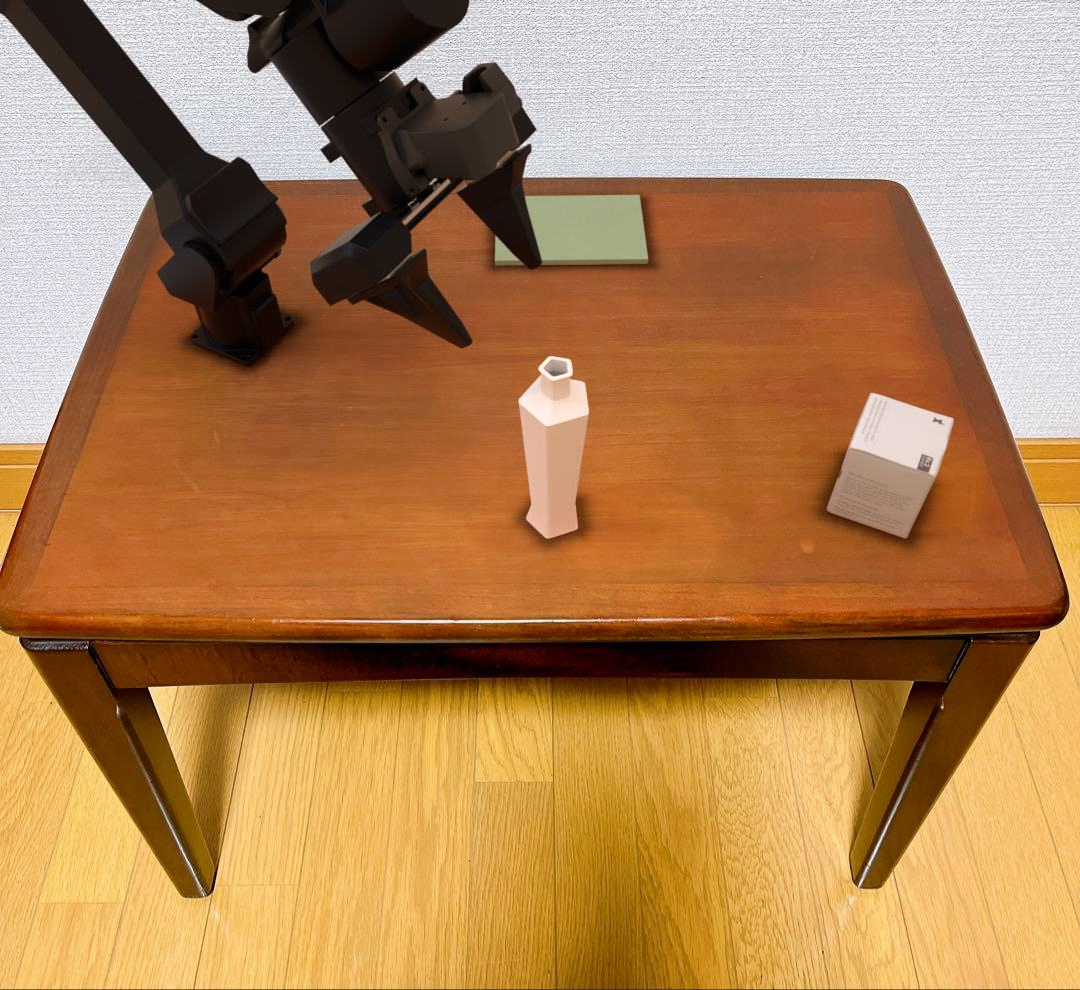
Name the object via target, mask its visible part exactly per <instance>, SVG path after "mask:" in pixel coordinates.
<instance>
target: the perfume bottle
mask: <svg viewBox="0 0 1080 990" xmlns="http://www.w3.org/2000/svg"><path fill="white" fill-rule="evenodd" d="M537 370H538V371H539V373H540V375H539V376H538V377H537V378H536V379H535V380H534V381H533V383H532V384H531V385H530V386H529V387H528V388H527V389H526V391H525V392H523V394H522V395H521V396H520V397H519V399H518V408H519V416H520V425H521V433H522V440H523V448H524V456H525V465H526V473H527V481H528V488H529V497H530V504H531V505H530V507H529V510H528V512H527V514H526V517H525V520H526V521H527V522H528V523H529V524H530V525H531V526H532V527H533V528H534V529H535V530H536V531H537V532H538V533H539V534H540V535H542V537H543V538H545V539H547V540H548V539H553V538H555V537H558V536H563V535H565V534H567V533H571V532H574V531H577V530H578V528H579V523H578V514H577V513H578V512H577V505H576V500H577V494H578V487H579V480H580V473H581V467H582V462H583V461H582V460H583V454H584V448H585V441H586V434H587V427H588V420H589V415H590V408H589V402H588V401H589V400H588V395H587V386H586V383H585V382H584V381H582V380H578V379H571V377H572V376H573V375H574V372H573V371H574V370H573V363H572V360H571V359H569V358H565V357H559V356H554V355H553V356H552V355H550V356H548V357H547V358H546V359H544V361H543V362H542V363H541V364H540V365H539V366H538V368H537Z"/></svg>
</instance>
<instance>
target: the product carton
mask: <svg viewBox="0 0 1080 990" xmlns="http://www.w3.org/2000/svg"><path fill="white" fill-rule="evenodd" d="M954 421H955V420H954V418H953V417H950V416H947V415H944V414H940V413H937V412H933V411H930V410H927V409H924V408H921V407H918V406H915V405H912V404H910V403H909V404H908V403H906V402H902V401H900V400H897V399H894V398H891V397H888V396H885V395H882V394H879V393H875V392H870V393H869V396H868V398H867V400H866V401H865V405H864V407H863V409H862V411H861V414H860V416H859V418H858V421H857V423H856V426H855V429H854V431H853V433H852V436H851V438H850V442H849V445H848V448H847V451H846V453H845V456H844V459H843V462H842V465H841V467H840V470H839V474H838V476H837V479H836V482H835V484H834V487H833V490H832V493H831V495H830V499H829V501H828V503H827V507H826V511H827V512H828V513H830V514H832V515H835V516H838V517H841V518H844V519H847V520H850V521H852V522H856V523H858V524H861V525H864V526H867V527H870V528H873V529H876V530H879V531H882V532H885V533H888V534H891V535H892V536H896V537H899V538H902V539H908V537H909V535H910V533H911V531H912V528H913V526H914V524H915V522H916V520H917V517H918V516H919V513H920V511H921V509H922V507H923V505H924V503H925V501H926V499H927V497H928V494H929V492H930V490H931V488H932V486H933V484H934V482H935V480H936V478H937V476H938V473H939V471H940V467H941V464H942V462H943V459H944V456H945V453H946V449H947V447H948V443H949V439H950V436H951V433H952V429H953V426H954Z"/></svg>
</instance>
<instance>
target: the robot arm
mask: <svg viewBox="0 0 1080 990" xmlns="http://www.w3.org/2000/svg"><path fill="white" fill-rule="evenodd" d="M195 2H197V3H199V4H201V5H202V6H204V7H205V8H207V9H208V10H209V11H211V12H213V13H214V14H215V15H217V16H219V17H221V18H223V19H225V20H228V21H231V22H236V23H237V22H238V23H239V22H244V21H246V20H248V19H251V18H252V17H254V16H258V18H256V19H255V20H253V21H252V22H250V23H249V24H247V26H246V29H247V35H248V47H247V48H248V49H247V53H246V61H247V63H246V64H247V69H248V70H249V71H250V73H252V74H258V73H259V72H261V71H262V70H264V69H265V68H266V67H268V66H269V65H271V64H272V65H273V66H274V67H275V68H276V70H277V71H278V72H279V74H280V76H281V77H282V78H283V80H284V81H285V82H286V83H287V85H288V86H289V88H290V89H291V91H293V93H294V94H295V96H296V98H297V99H298V100H299V101H300V103H301V104H302V105H303V106H304V108H305V109H306V110H307V112H308V114H309V115H310V117H312V119H313V120H314V121H315V122H316V124H317V125H318V127H320V130H321V131H322V133H323V134H324V135H325V137H326V138H327V140H328V141H329V142H328V143H326V144H325V145H324V146H323V147H321V148H320V149H319V151H320V152H321V153H322V155H323V156H324V157H325V158H326V161H328V163H329V164H332V163H333V162H335V161H337V160H338V159H340V158H342V160H343V161H344V162H345V164H346V165H347V167H348V168H349V170H350V171H351V172H352V173H353V175H354V176H355V177H356V179H357V180H358V182H359V183H360V184H361V185H362V188H363V189H365V191H366V192H367V194H368V195H369V196H370V197H369V198H368V199H367V200H366V201H365V202H363V203H362V204H361V207H362V209H363V210H364V211H365V213H366V214H367V215H368V216H369V218H367V219H365V220H363V221H362V222H360V223H358V224H356V225H355V226H353V227H350V228H349V229H347V230H346V231H344V232H342V233H341V234H340V235H339V236H338V237H337V238H336V239H334V240H333V242H331V243H330V244H329V245H328V246H327V247H326V248H324V249H323V250H322V251H321V252H320V253H319V254H318V255H317V256H315V258H314V259H312V260H311V261H310V262H309V267H310V276H311V281H312V285H313V287H314V288H315V289H316V290H317V291H318V293H319V294H320V296H322V298H323V299H324V300H325V301H326V303H327V304H328V306H330V307H331V306H333V305H334V306H335V305H336V304H338V303H340V302H342V301H344V300H346V301H347V302H348V303H349V304H350V305H352V306H354V305H356V304H358V303H360V302H363V301H364V302H367V303H369V304H372V305H374V306H375V307H379V308H380V309H383V310H386V311H387V312H389V313H393V314H394V315H396V316H400V317H401V318H403V319H405V320H406V321H407V320H408V321H409V322H412V323H413V324H415V325H417V326H418V327H421V328H422V329H424V330H426V331H427V332H430V333H431V334H433V335H435V336H437V337H439V338H440V339H442V340H444V341H446V342H448V343H450V344H451V345H453V346H455V347H457V348H459V349H465V348H468V347H470V346H471V345H472V344H473V339H472V337H471V334H470V333H469V331H468V329H467V327H466V326H465V324H464V322H463V321H462V320H461V318H460V317H459V315H458V314H457V312H456V311H455V310H454V309H453V307H452V306H451V305H450V303H449V302H448V300H447V299H446V297H445V296H444V295H443V293H442V292H441V290H440V289H439V287H438V286H437V285H436V284H435V282H434V281H433V279H432V278H431V276H430V273H429V265H428V264H429V263H428V251H427V249H426V248H423V249H421V250H419V251H417V252H415V253H413V244H412V242H413V241H412V233H411V231H413V229H415V228H416V227H417V226H418V225H419V224H420V223H421V222H422V221H423V220H424V219H426V217H427V216H428V215H429V214H430V213H431V212H433V210H435V209H436V208H437V207H438V206H439V205H440V204H441V203H442V202H443V201H444V200H445V199H446V198H447V197H448V196H449V195H450V194H451V193H452V192H454V190H456V188H458V187H459V186H460V185H461V184H462V183H463V182H465V183H464V184H463V186H461V187H460V188H459V189H458V190H457V191H456V195H457V196H458V197H459V198H460V199H461V200H462V201H463V202H464V203H465V204H466V205H467V207H468V208H469V209H470V210H471V211H472V212H473V213H474V214H475V215H476V216H477V217H478V218H479V220H481V222H482V223H483V224H484V225H485V226H486V227H487V228H488V229H489V230H490V231H491V232H492V233H493V234H494V236H495V235H496V236H497V238H498V239H499V240H500V241H501V242H502V243H503V244H504V245H505V246H506V247H507V248H508V249H509V250H510V252H511V253H512V254H513V255H514V256H515V257H516V258H518V259H519V260H520V261H521V262H522V263H523V264H524V265H523V266H525V267H526V268H527V269H528V270H533V271H534V270H535V269H538V268H539V267H540V266H542V265H541V264H542V259H541V255H540V251H539V248H538V244H537V241H536V237H535V233H534V230H533V226H532V223H531V219H530V215H529V212H528V208H527V204H526V199H525V196H526V195H525V189H524V183H523V180H524V179H523V177H524V173H525V170H526V169H525V168H526V165H527V160H528V158H529V156H530V155H531V154H532V150H533V146H532V143H528V144H526V145H524V146H522V145H523V144H524V143H525V142H526V141H527V140H528V139H529V138H530V137H531V136H533V134H535V132H537V131H538V129H537V127H536V126H535V124H534V123H533V121H532V119H531V118H530V116H529V115H528V113H527V112H526V111H525V108H524V107H523V105H524V103H523V100H522V98H521V97H520V96H519V95H518V94H517V90H516V87H515V86H514V84H513V83H512V81H511V80H510V79H509V77H508V76H507V75H506V74H505V72H504V70H503V69H502V68H501V67H500V65H499V64H498V63H497V61H492V62H485V63H484V62H483V63H478V64H477V65H476V66H474V68H472V69H471V70H470V71H469V72H467V74H465V75H464V76H463V78H462V83H461V85H462V86H461V89H456V90H455V91H454V92H453V93H451V94H450V95H449V96H447V97H442V98H436V97H435V95H434V94H433V93H432V92H431V90H430V89H429V88H428V86H427V85H426V83H425V82H422V81H420V80H419V79H418V77H414V78H413V79H412V80H410V81H409V82H407V83H406V84H404V82H403V81H402V79H401V78H400V76H399V74H397V72H396V70H398V69H399V68H401V67H402V66H404V64H406V63H408V62H409V61H411V60H412V59H413V58H415V57H416V56H417V55H419V54H420V53H422V52H423V51H424V50H426V49H427V48H428V47H430V45H432V44H433V43H435V42H436V41H437V40H439V39H440V38H442V37H443V36H444V35H446V34H447V33H449V32H450V31H451V30H453V29H454V28H456V27H457V26H458V25H459V24H460V23H462V21H463V20H464V19H465V17H466V16H467V13H468V10H469V7H470V0H195ZM0 15H2V16H4V18H5V19H6V20H8V21H9V23H10V24H11V26H13V28H14V29H15V30H16V31H17V32H18V34H20V36H21V37H22V38H23V39H24V41H25V42H26V44H28V45H29V47H30V48H31V49H32V51H34V53H35V54H36V55H37V56H38V57H39V59H40V60H41V61H42V62H43V63H44V65H45V66H46V67H47V68H48V69H49V70H50V72H51V73H52V74H53V75H54V77H56V79H57V81H59V82H60V84H62V86H63V87H64V88H65V90H66V91H67V92H68V93H69V94H70V96H72V98H73V99H74V101H76V103H77V104H78V105H79V106H80V108H81V109H82V110H83V111H84V113H86V114H87V116H88V117H89V118H90V119H91V121H92V122H93V123H94V124H95V125H96V126H97V128H98V129H99V130H100V131H101V132H102V134H103V135H104V136H105V137H106V138H107V140H108V141H109V142H110V144H111V145H112V146H113V147H114V148H115V149H116V150H117V151H118V153H119V154H120V155H121V156H122V158H123V159H124V160H125V161H126V162H127V164H128V165H129V166H130V167H131V168H132V169H133V171H134V172H135V173H136V174H137V175H138V177H139V178H140V179H141V180H142V181H143V182H144V184H145V186H147V187H148V189H149V191H150V192H151V193H152V198H153V203H154V208H155V214H156V218H157V223H158V228H159V233H160V235H161V237H162V238H163V240H164V241H165V242H166V244H167V245H168V247H169V248H170V250H171V251H172V252H173V253H174V254H173V255H172V256H171V257H170V258H169V259H168V260H167V261H166V262H165V263H164V264H163V265H162V266H161V267H160V268H159V269H158V270H157V271H156V275H157V277H158V278H159V280H160V282H161V283H162V285H163V287H164V288H165V290H166V291H167V293H168V294H169V295H170V296H171V297H173V298H176V299H179V300H181V301H183V302H186V303H188V304H191V305H192V306H194V308H195V311H196V315H197V317H198V320H199V323H200V326H199V327H197V329H196V330H194V331H193V332H192V333H190V335H189V340H190V342H191V344H192V345H195V346H198V347H200V348H203V349H205V350H208V351H210V352H212V353H215V354H217V355H220V356H222V357H225V358H226V359H228V360H231V361H234V362H237V363H238V364H240V365H242V366H251V365H253V364H254V363H255V362H256V361H257V360H258V359H259V358H260V357H261V356H262V355H263V354H264V353H265V352H266V351H267V350H269V348H271V347H272V346H273V345H274V344H275V343H276V342H277V341H278V340H279V339H280V338H281V337H282V336H283V335H284V334H285V333H286V332H287V331H288V330H289V329H290V328H291V327H292V326H293V325H294V324H295V318H294V316H293V315H290V314H288V313H286V312H283V311H281V309H280V306H279V301H278V297H277V294H276V293H274V291H273V287H272V284H271V280H270V276H269V274H268V273H266V272H263V269H264V268H266V266H267V265H268V264H270V263H271V262H272V261H273V260H274V259H278V258H279V257H280V256H281V254H282V249H283V246H284V245H286V242H287V239H288V238H287V237H288V235H287V233H288V232H287V228H286V226H287V225H288V220H287V217H286V215H285V212H284V211H283V209H282V207H281V206H280V204H279V203H278V201H279V197H278V196H277V195H276V194H275V193H273V191H271V190H270V189H269V188H268V187H267V186H266V185H265V184H264V183H263V182H262V180H261V179H260V177H259V176H258V174H257V173H256V171H255V169H254V167H252V165H251V163H249V161H247V160H245V159H244V158H242V157H240V156H236V157H235V158H234V159H233V160H231V161H230V162H229V161H227V160H225V159H223V158H221V157H219V156H216V155H215V154H212V153H209V152H208V151H206V150H205V149H204V148H203V147H202V146H201V145H200V143H199V142H198V141H197V140H196V139H195V138H194V136H193V135H192V134H191V132H190V131H189V130H188V129H187V127H186V126H185V125H184V124H183V122H182V121H181V119H180V118H178V116H177V114H175V112H174V111H173V110H172V109H171V107H170V106H169V104H168V103H167V102H166V101H165V100H164V98H163V97H162V96H161V95H160V93H159V92H158V91H157V90H156V88H155V87H154V86H153V85H152V84H151V82H150V81H149V80H148V78H147V77H146V76H145V75H144V74H143V72H142V71H141V70H140V69H139V67H138V66H137V64H135V62H134V61H133V60H132V59H131V57H130V56H129V54H128V53H127V52H126V51H125V49H124V48H123V47H122V46H121V45H120V43H119V42H118V41H117V40H116V39H115V37H114V36H113V35H112V33H111V32H110V31H109V29H108V28H107V27H106V26H105V25H104V23H102V21H101V19H99V17H98V16H97V15H96V13H95V12H94V11H93V10H92V9H91V7H90V6H89V5H88V3H87V2H86V1H85V0H0ZM521 146H522V147H521ZM412 253H413V254H412ZM540 268H541V267H540Z"/></svg>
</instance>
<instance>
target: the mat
mask: <svg viewBox="0 0 1080 990" xmlns="http://www.w3.org/2000/svg"><path fill="white" fill-rule="evenodd" d="M525 199H526V204H527V208H528V212H529V215H530V219H531V223H532V226H533V230H534V233H535V237H536V241H537V244H538V248H539V251H540V255H541V259H542V264H541V265H540V266H581V265H582V266H583V265H584V266H589V265H591V266H592V265H593V266H594V265H595V266H596V265H598V266H599V265H648V264H649V253H648V245H647V240H646V232H645V231H646V230H645V225H644V216H643V209H642V203H641V194H605V195H604V194H593V195H592V194H590V195H587V194H586V195H585V194H584V195H583V194H581V195H577V194H576V195H525ZM494 266H495V267H496V266H497V267H498V266H502V267H503V266H525V265H524V264H523V263H522V262H521V261H520V260H519V259H518V258H516V257H515V256H514V255H513V254H512V253H511V252H510V250H509V249H508V248H507V247H506V246H505V245H504V244H503V243H502V242H501V241H500V240H499V239H498V238H497V236H496V235H495V234H494Z"/></svg>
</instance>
